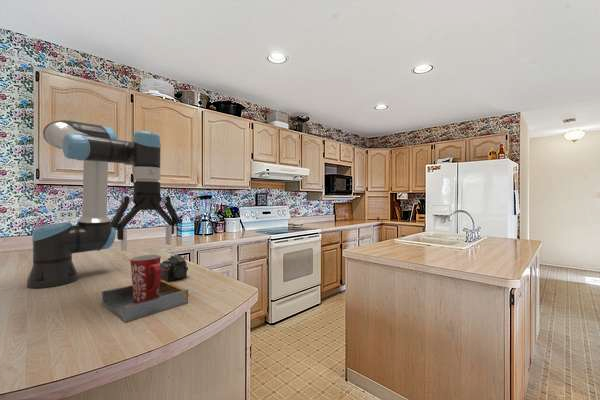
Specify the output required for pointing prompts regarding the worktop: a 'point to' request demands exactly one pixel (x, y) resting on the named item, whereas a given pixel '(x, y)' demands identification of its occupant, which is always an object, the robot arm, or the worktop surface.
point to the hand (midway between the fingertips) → (147, 247)
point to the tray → (129, 309)
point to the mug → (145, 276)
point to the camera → (173, 268)
